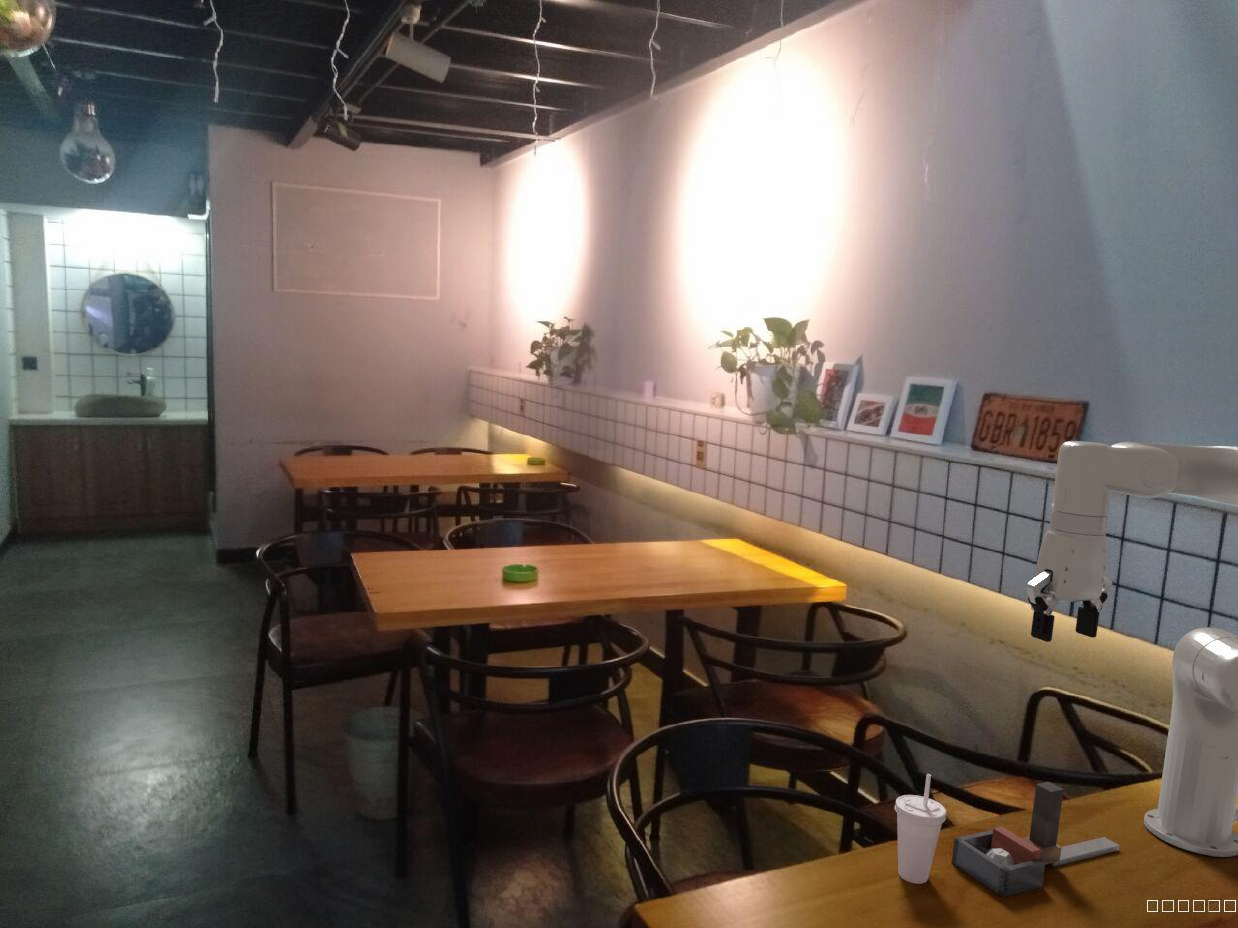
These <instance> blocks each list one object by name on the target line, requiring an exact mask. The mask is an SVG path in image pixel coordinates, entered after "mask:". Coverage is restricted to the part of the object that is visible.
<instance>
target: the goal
mask: <svg viewBox="0 0 1238 928" xmlns="http://www.w3.org/2000/svg"><path fill="white" fill-rule="evenodd" d="M992 835H993V829H991V830H986V831H980V832H975V833H972V834H968V835H963V836H958V837H954V838H953V845H952V846H953V849H952V855H951V856H952V857H951V863H952V864H953V863H954V864H955V865H954V864H953V865H954V866H956V867H958V868H959V869H960V870H962V871H963V872H965V873H966V874H967V875H969V876H970V877H972V878H973V879H975V880H976V881H978V882H980V883H981V884H983V885H984V886H985V887H986V888H988V889H989V890H991V891H992V892H994V893H995V894H997V895H998V896H1000V897H1001V898H1005V897H1008V896H1013V895H1016V894H1020V893H1024V892H1027V891H1031V890H1035V889H1039V888H1040V889H1041V888H1043V883H1044V877H1045V876H1044V875H1045V870H1046V867H1045V866H1046V865H1045V861H1044V860H1042V859H1036V860H1032V861H1028V862H1024V863H1020V864H1015V865H1011V866H1007V867H1004V866H1003V865H1001V864H1000V863H998V862H996V861H995V860H993V859H992V858H990V857H989V856H987V855H986V854H987V853H988V852H989V851H990V850H991V843H992Z"/></svg>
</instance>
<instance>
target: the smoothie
mask: <svg viewBox="0 0 1238 928" xmlns="http://www.w3.org/2000/svg"><path fill="white" fill-rule="evenodd" d="M931 777H932V774H930V773H927V774H926V777H925V785H924V793H923V796H921V795H916V794H915V795H914V794H904V795H901V796H898V797H897V798H896V800H895V805H894V810H895V812H896V813H897V815H896V817H897V818H896V824H897V830H896V831H897V864H898V865H897V866H898V867H897V868H898V869H897V870H898V875H899V877H900V878H901V879H902V880H904V881H906V882H908V883H912V884H918V885H920V884H921V885H922V884H924V883H927V882H928V879H929V875H930V872H931V868H932V864H933V860H934V856H935V852H936V848H937V844H938V840H939V837H940V833H941V829H942V825H943V823H945V821H946V819H947V818H946V814H947V810H946V807H944V806H943V804H941V803H940V802H938V801H937V800H934V799H932V798H929V796H930V789H931V788H930V787H931Z"/></svg>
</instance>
